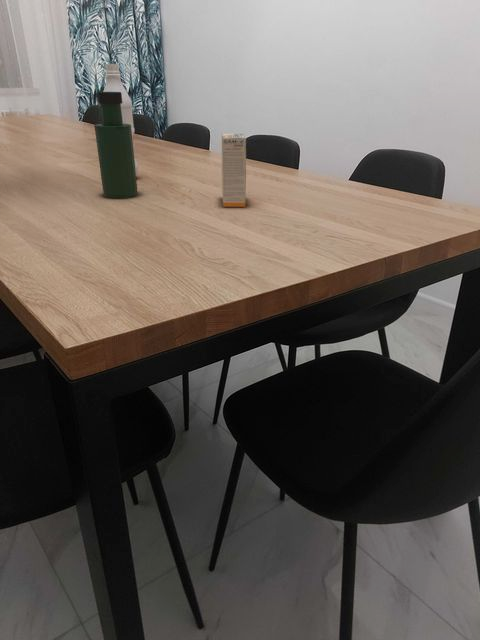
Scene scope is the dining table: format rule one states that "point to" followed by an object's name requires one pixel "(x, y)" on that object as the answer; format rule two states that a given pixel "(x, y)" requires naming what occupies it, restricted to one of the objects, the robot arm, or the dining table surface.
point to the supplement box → (234, 170)
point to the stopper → (110, 97)
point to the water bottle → (116, 86)
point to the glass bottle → (115, 154)
